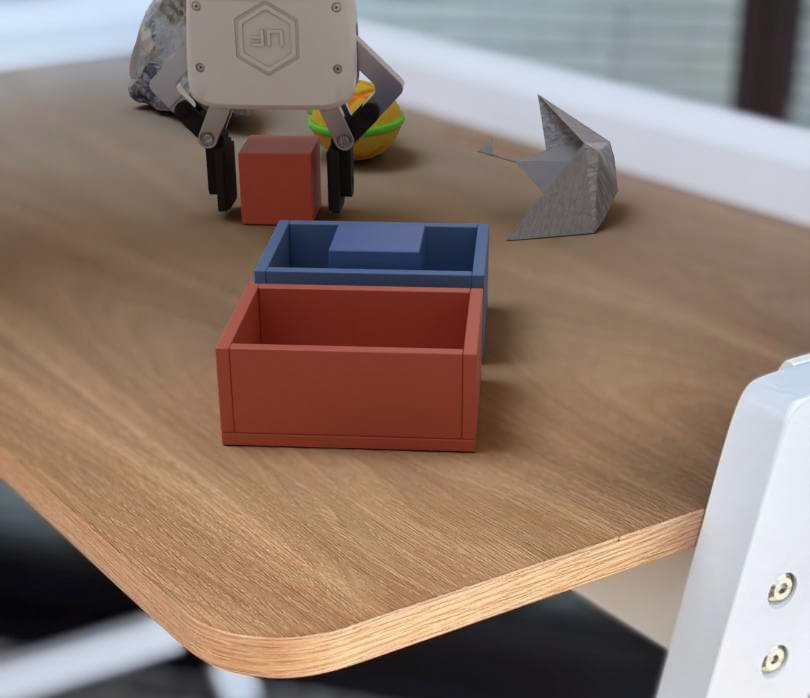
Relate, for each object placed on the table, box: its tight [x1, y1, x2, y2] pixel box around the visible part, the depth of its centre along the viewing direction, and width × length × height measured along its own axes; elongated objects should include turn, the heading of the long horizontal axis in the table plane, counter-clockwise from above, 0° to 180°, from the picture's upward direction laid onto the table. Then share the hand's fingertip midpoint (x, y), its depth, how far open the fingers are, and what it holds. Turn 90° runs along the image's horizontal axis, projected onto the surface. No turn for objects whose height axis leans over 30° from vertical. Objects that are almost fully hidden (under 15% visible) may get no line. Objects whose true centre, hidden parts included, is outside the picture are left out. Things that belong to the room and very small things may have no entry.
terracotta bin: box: [214, 283, 483, 453], centre depth 68 cm, size 11×8×5 cm
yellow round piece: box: [306, 79, 405, 161], centre depth 108 cm, size 7×10×5 cm
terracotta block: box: [237, 134, 323, 226], centre depth 95 cm, size 4×4×4 cm
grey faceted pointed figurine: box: [476, 93, 619, 241], centre depth 94 cm, size 12×6×9 cm
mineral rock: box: [127, 0, 256, 119], centre depth 116 cm, size 13×11×10 cm
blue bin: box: [253, 220, 490, 364], centre depth 77 cm, size 11×8×5 cm
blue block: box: [329, 223, 425, 270], centre depth 77 cm, size 4×4×4 cm
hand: (282, 204), depth 96 cm, fingers open, 6 cm apart
